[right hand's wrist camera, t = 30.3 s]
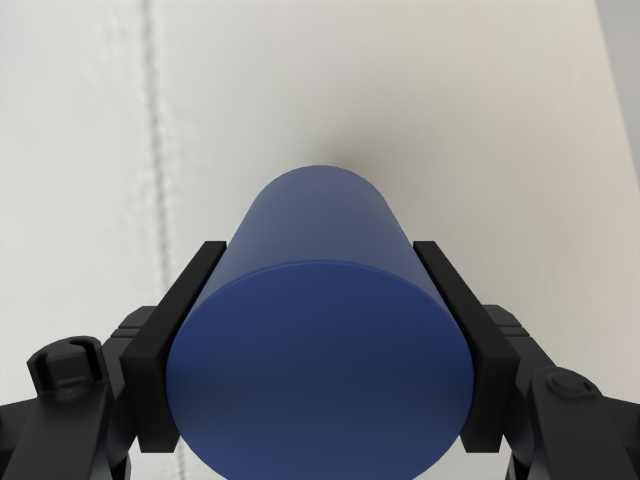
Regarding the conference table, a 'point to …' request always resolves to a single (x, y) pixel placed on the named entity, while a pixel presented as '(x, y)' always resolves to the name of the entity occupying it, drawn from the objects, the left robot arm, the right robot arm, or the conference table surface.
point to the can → (319, 344)
